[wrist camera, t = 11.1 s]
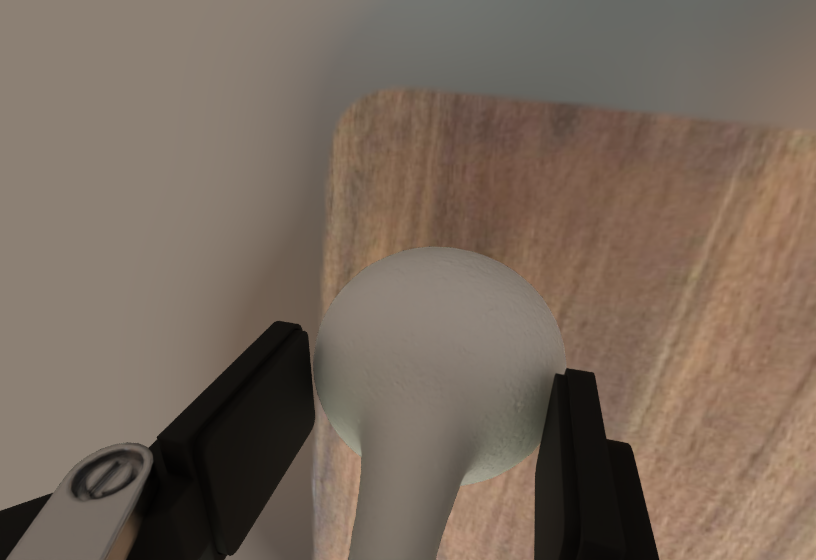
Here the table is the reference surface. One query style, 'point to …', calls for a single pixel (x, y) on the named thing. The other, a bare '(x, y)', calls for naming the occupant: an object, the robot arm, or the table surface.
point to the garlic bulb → (433, 387)
